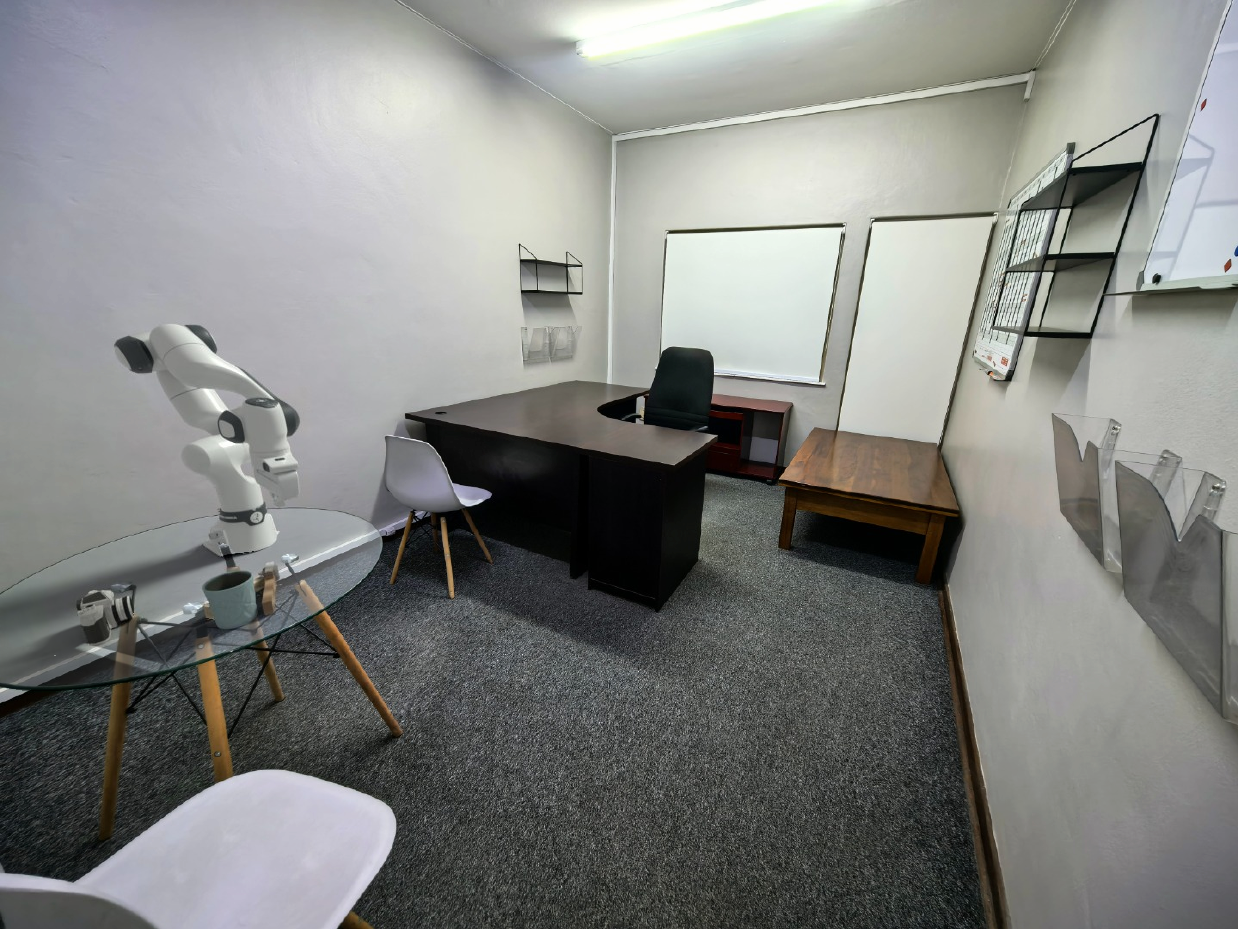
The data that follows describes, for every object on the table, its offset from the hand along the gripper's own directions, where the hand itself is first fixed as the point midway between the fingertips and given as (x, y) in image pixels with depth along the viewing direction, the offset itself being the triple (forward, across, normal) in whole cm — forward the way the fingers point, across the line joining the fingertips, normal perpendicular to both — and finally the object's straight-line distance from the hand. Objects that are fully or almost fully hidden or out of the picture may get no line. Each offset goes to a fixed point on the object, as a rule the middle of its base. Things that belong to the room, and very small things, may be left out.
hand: (279, 505), depth 127 cm
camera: (+28, -17, -35) cm, 48 cm away
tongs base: (+27, -8, -2) cm, 29 cm away
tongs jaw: (+27, -8, -2) cm, 29 cm away
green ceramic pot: (+27, +4, -15) cm, 31 cm away
